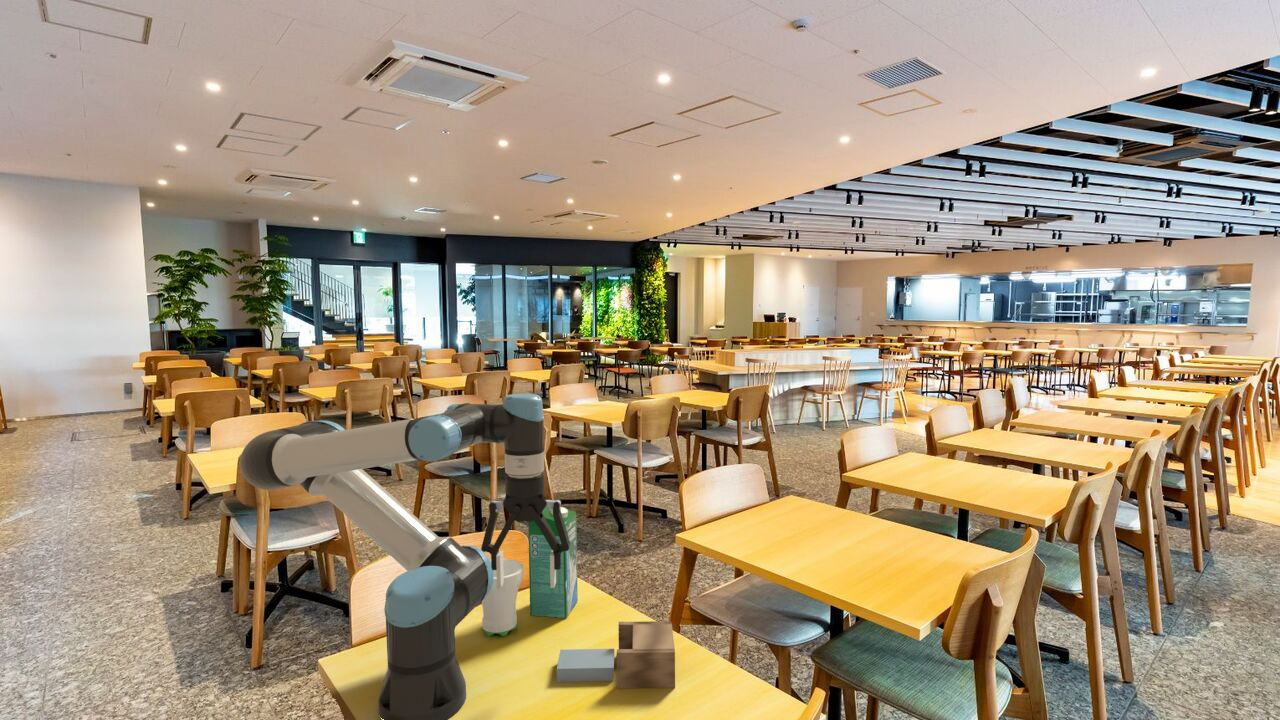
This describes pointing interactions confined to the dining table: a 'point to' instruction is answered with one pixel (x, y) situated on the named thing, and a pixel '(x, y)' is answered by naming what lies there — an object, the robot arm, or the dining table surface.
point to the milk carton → (565, 589)
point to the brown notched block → (646, 655)
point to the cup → (502, 600)
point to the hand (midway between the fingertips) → (526, 585)
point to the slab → (585, 665)
